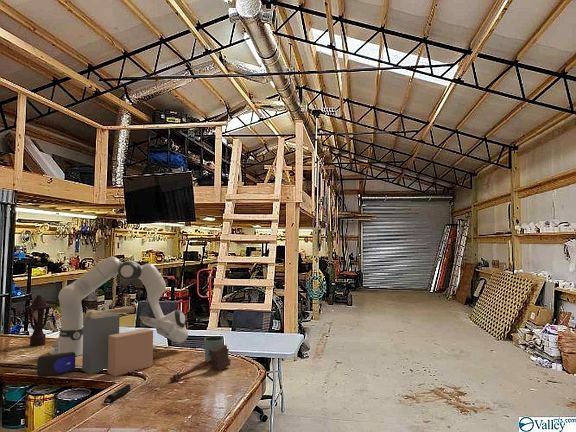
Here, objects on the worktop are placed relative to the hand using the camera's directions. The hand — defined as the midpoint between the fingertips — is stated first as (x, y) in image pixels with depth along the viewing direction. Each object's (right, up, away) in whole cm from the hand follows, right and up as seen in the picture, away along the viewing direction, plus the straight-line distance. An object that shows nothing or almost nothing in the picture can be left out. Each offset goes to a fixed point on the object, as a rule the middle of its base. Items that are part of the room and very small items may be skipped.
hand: (145, 318), depth 234 cm
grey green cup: (+38, -21, -6) cm, 44 cm away
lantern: (-75, -23, +28) cm, 83 cm away
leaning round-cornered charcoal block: (-34, -21, -27) cm, 48 cm away
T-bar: (-12, +5, -14) cm, 19 cm away
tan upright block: (0, -21, -21) cm, 29 cm away
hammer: (+35, -21, -28) cm, 49 cm away
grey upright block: (-16, -21, -20) cm, 33 cm away
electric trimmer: (+8, -19, -58) cm, 61 cm away
